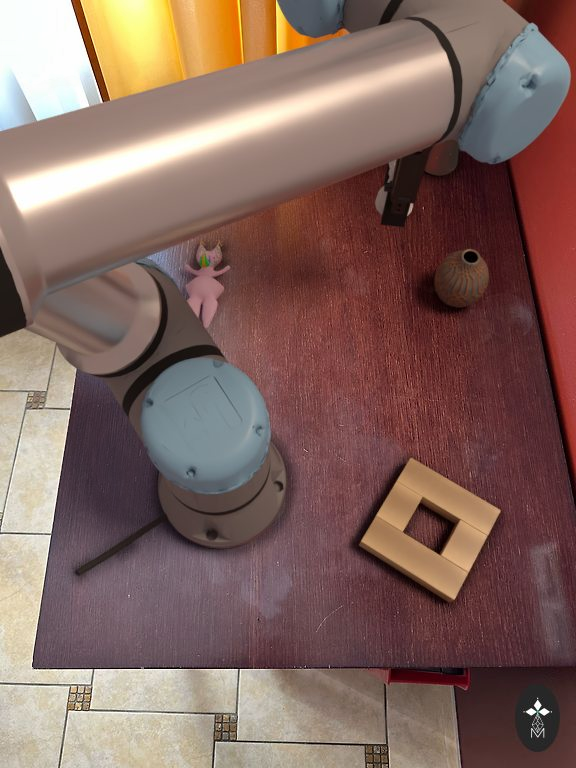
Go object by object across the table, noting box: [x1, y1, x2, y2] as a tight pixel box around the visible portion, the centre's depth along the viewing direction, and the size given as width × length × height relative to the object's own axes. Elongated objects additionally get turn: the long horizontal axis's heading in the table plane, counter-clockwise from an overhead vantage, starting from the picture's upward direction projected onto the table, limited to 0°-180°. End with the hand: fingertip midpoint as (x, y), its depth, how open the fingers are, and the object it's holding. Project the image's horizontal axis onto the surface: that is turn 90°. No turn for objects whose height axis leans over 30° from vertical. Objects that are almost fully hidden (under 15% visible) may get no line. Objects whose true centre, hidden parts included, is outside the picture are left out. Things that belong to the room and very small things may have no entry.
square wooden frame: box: [358, 457, 502, 603], centre depth 80 cm, size 12×12×2 cm
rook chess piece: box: [374, 160, 414, 217], centre depth 77 cm, size 4×4×8 cm
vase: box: [433, 248, 490, 309], centre depth 90 cm, size 7×7×9 cm
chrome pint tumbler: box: [424, 139, 460, 177], centre depth 97 cm, size 7×7×15 cm
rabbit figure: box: [184, 236, 231, 330], centre depth 92 cm, size 6×6×15 cm
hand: (393, 205), depth 80 cm, fingers closed on rook chess piece, 4 cm apart
